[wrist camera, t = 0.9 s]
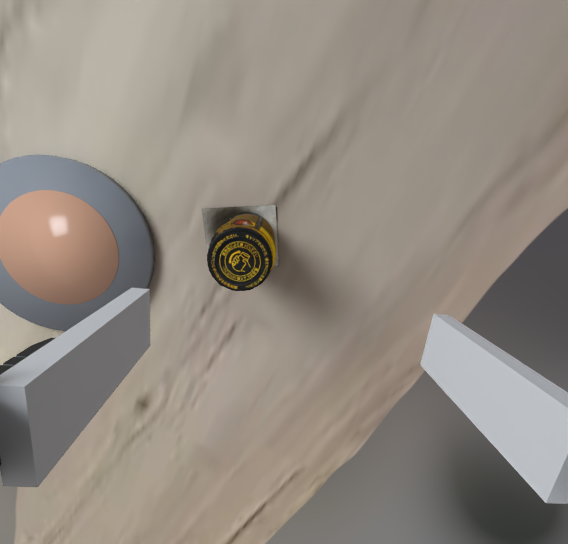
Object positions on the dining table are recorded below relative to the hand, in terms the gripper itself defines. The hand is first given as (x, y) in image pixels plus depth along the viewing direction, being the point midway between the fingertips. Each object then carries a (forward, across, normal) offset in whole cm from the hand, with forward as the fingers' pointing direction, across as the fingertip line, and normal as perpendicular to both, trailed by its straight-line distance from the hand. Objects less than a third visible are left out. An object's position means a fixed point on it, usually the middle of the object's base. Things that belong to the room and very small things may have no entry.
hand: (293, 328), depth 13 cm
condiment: (+22, -4, +1) cm, 23 cm away
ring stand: (+22, -24, -3) cm, 33 cm away
